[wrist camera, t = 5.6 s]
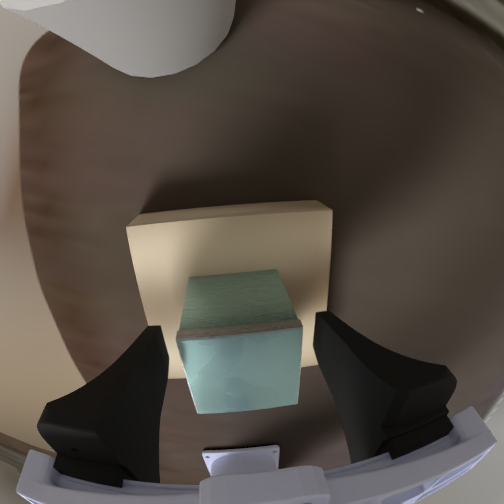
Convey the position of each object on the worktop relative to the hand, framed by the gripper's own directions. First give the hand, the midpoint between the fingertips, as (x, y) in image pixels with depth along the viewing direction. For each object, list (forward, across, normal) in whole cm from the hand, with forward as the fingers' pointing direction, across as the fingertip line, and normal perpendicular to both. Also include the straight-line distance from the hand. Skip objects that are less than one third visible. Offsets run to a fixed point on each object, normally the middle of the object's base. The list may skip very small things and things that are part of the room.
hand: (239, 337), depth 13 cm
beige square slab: (+5, 0, 0) cm, 5 cm away
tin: (+2, 0, 0) cm, 2 cm away
